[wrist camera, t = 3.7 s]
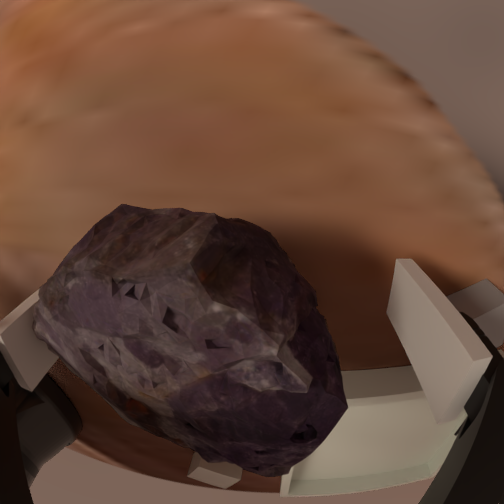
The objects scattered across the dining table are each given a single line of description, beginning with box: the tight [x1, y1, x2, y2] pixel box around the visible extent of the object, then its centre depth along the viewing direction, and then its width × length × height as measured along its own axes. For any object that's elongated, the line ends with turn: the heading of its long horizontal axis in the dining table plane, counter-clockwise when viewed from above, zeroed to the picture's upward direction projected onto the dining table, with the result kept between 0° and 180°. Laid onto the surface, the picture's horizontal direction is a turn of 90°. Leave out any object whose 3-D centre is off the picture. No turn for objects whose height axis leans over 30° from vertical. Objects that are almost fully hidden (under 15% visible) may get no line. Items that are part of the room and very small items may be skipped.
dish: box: [280, 349, 504, 497], centre depth 19 cm, size 18×18×2 cm
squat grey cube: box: [446, 279, 504, 348], centre depth 14 cm, size 4×4×3 cm
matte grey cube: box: [187, 452, 243, 489], centre depth 22 cm, size 4×4×3 cm
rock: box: [32, 204, 348, 477], centre depth 10 cm, size 12×9×10 cm
